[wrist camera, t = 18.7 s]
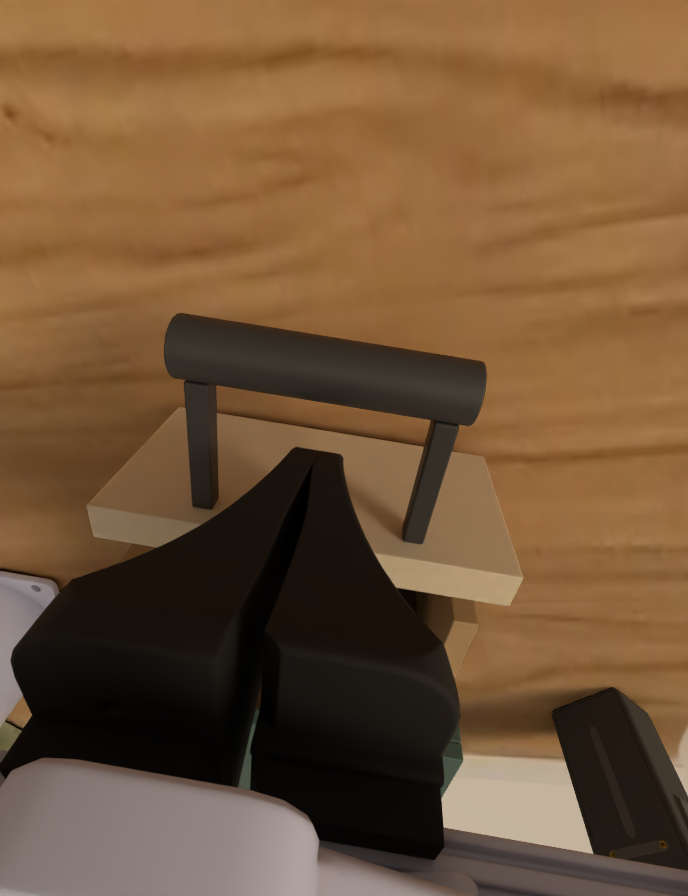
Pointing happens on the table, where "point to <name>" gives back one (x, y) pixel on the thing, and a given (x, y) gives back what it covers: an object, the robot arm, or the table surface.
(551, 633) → the table surface
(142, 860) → the robot arm
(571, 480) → the table surface
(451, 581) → the drawer
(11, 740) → the medication box
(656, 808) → the walkie-talkie
